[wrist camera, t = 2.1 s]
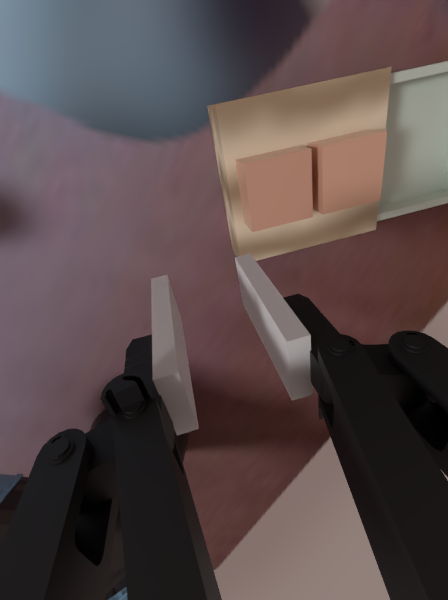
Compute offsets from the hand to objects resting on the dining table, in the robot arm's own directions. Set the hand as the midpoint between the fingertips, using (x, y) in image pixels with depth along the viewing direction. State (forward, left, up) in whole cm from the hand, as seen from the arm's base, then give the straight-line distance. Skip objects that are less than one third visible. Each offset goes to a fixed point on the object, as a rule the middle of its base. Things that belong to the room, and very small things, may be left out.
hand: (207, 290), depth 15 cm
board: (0, -13, -21) cm, 24 cm away
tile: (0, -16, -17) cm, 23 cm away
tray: (0, -27, -21) cm, 34 cm away
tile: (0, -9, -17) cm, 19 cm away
